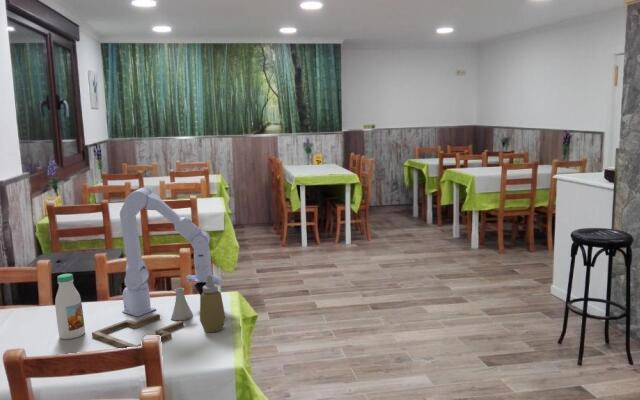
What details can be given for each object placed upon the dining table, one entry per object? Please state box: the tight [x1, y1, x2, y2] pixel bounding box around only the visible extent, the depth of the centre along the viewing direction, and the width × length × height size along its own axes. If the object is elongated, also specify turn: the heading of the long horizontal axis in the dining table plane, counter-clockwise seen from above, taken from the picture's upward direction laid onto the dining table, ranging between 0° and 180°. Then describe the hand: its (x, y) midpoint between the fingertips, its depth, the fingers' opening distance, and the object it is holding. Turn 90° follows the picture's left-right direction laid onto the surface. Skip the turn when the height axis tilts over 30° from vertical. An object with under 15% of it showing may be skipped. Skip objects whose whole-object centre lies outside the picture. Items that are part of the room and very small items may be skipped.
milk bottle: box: [54, 273, 86, 340], centre depth 178 cm, size 8×8×20 cm
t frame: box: [91, 313, 185, 349], centre depth 178 cm, size 23×22×2 cm
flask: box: [170, 287, 193, 321], centre depth 190 cm, size 7×7×10 cm
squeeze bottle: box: [199, 275, 226, 333], centre depth 177 cm, size 8×8×18 cm
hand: (206, 302), depth 199 cm, fingers closed
